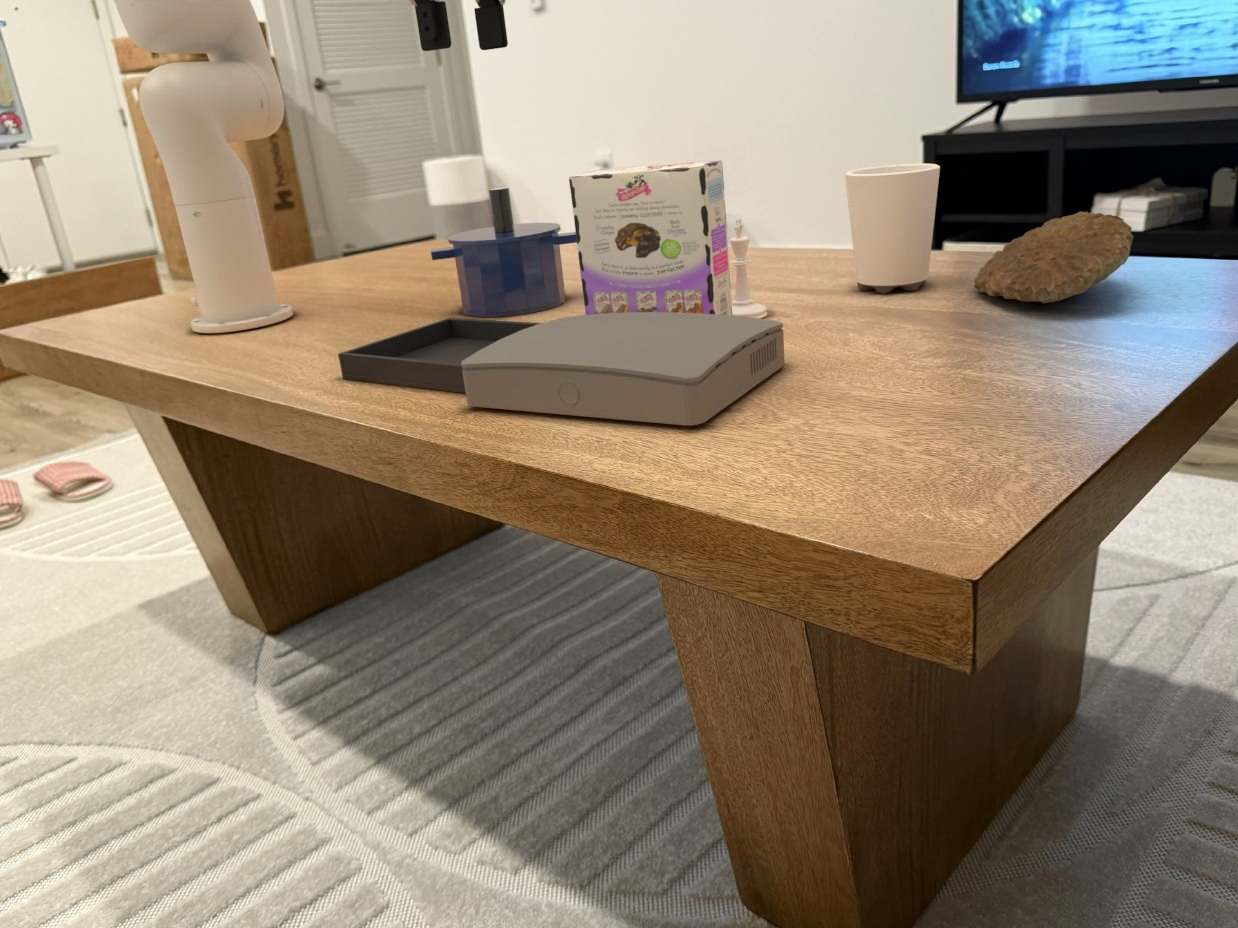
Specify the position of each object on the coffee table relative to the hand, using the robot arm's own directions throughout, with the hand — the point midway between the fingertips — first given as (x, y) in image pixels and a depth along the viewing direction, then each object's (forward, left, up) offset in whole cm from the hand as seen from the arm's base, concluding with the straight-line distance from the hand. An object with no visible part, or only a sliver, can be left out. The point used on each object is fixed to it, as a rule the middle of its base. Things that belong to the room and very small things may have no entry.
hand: (466, 49), depth 98 cm
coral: (+50, +25, -29) cm, 63 cm away
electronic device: (+26, -13, -29) cm, 41 cm away
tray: (+5, -12, -29) cm, 32 cm away
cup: (+33, +28, -29) cm, 52 cm away
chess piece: (+23, +12, -29) cm, 39 cm away
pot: (-9, +12, -29) cm, 32 cm away
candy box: (+19, +2, -29) cm, 35 cm away
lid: (-9, +12, -20) cm, 25 cm away
